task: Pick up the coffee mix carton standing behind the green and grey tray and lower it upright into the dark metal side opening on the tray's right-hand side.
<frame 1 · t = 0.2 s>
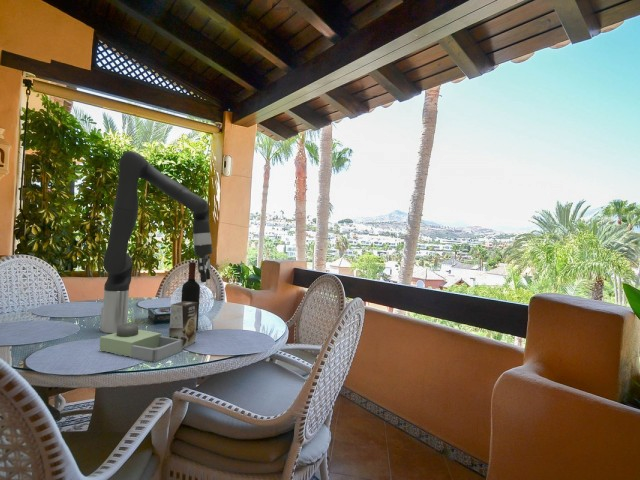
hand: (205, 280, 163), 22 cm above the table, tool pointing down, fingers open, 8 cm apart
wine bottle: (188, 330, 165), on the table
coffee box: (182, 345, 145), on the table
green and grey tray: (144, 351, 134), on the table
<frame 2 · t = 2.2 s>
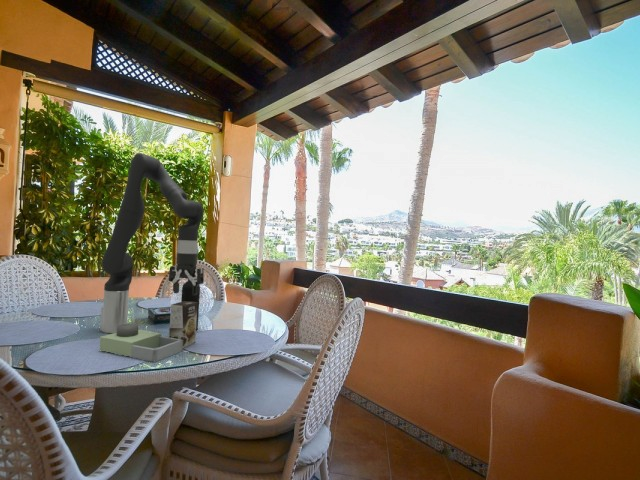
hand: (185, 294, 145), 20 cm above the table, tool pointing down, fingers open, 8 cm apart
nothing on the table moved.
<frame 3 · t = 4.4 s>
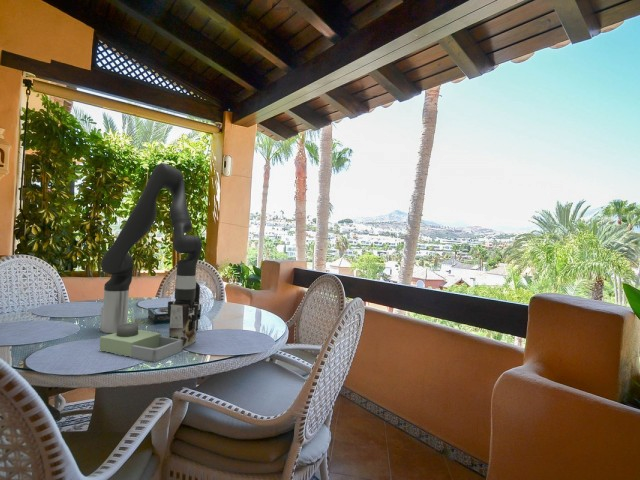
hand: (183, 329, 145), 6 cm above the table, tool pointing down, fingers closed on coffee box, 7 cm apart
coffee box: (182, 345, 145), on the table, touching gripper
everything else where it was.
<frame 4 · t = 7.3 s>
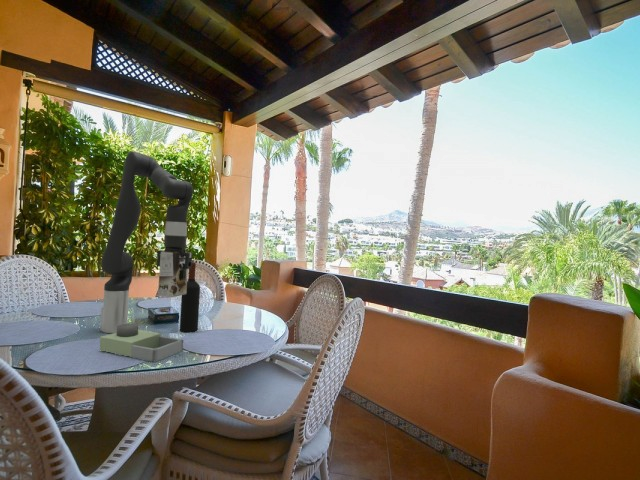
hand: (173, 279, 138), 26 cm above the table, tool pointing down, fingers closed on coffee box, 7 cm apart
coffee box: (172, 295, 138), point 20 cm above the table, touching gripper
everything else where it was.
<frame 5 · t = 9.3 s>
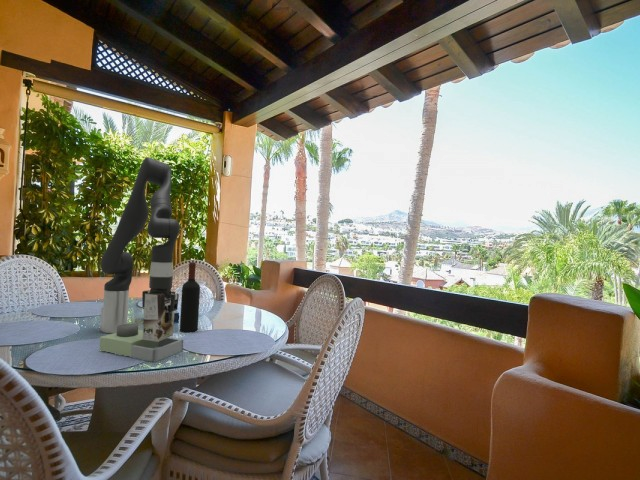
hand: (159, 321, 132), 11 cm above the table, tool pointing down, fingers closed on coffee box, 7 cm apart
coffee box: (158, 338, 133), point 5 cm above the table, touching gripper
everything else where it was.
when the fingers open (8 cm above the table, at t = 10.7 s): coffee box drops 1 cm, resting on green and grey tray.
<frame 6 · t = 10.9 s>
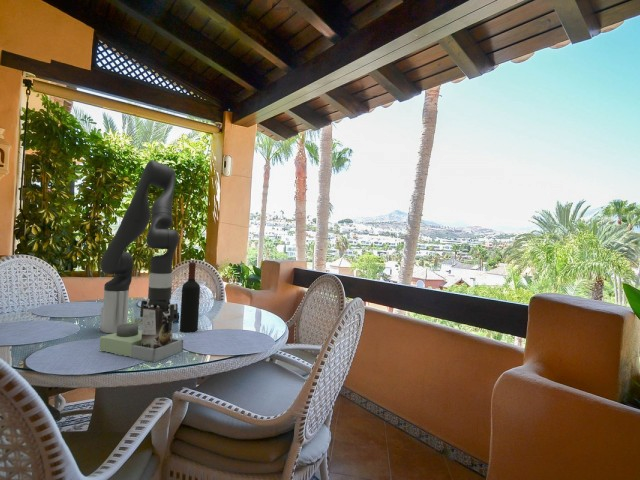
hand: (157, 331, 132), 8 cm above the table, tool pointing down, fingers open, 8 cm apart
coffee box: (156, 352, 133), resting on green and grey tray
everything else where it was.
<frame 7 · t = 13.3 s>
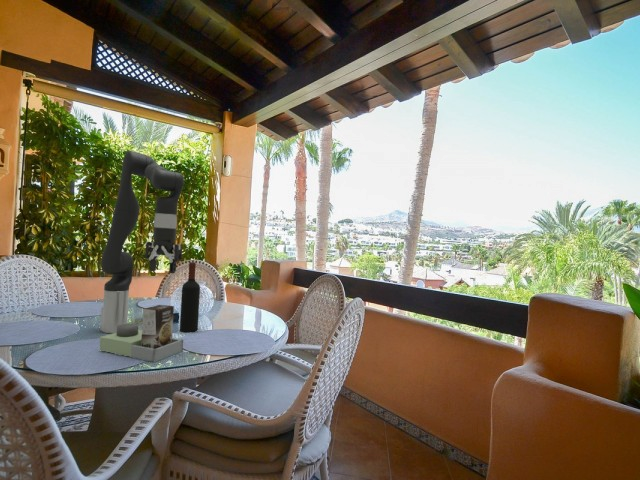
hand: (162, 272, 134), 29 cm above the table, tool pointing down, fingers open, 8 cm apart
nothing on the table moved.
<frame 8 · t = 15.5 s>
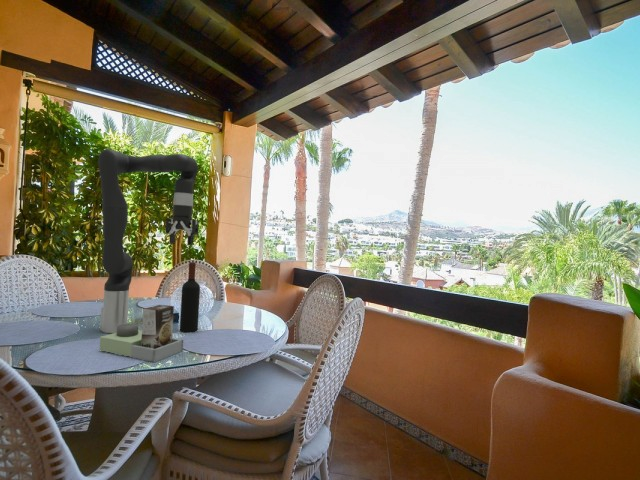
hand: (181, 244, 152), 38 cm above the table, tool pointing down, fingers open, 8 cm apart
nothing on the table moved.
at the end: coffee box 0.2 cm from the target spot on the green and grey tray, point 0.2 cm above the green and grey tray's base; coffee box tilted 0°; the gripper is holding nothing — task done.
